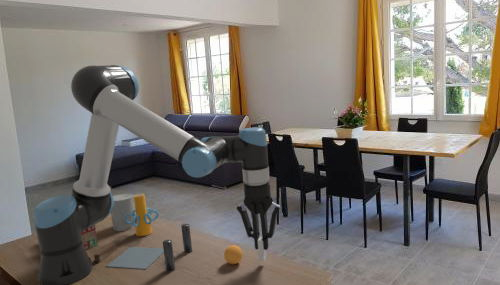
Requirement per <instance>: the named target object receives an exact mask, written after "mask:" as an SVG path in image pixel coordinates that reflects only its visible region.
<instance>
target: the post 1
mask: <svg viewBox="0 0 500 285" xmlns="http://www.w3.org/2000/svg"><path fill="white" fill-rule="evenodd" d="M162 247H163V248H164V253H163V255H164V256H163V257H164V263H165V272H168V273H172V272H174V271H175V270H176V264H175V258H174V257H175V256H174V249H173V241H172V239H165V240H163V241H162Z"/></svg>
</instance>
